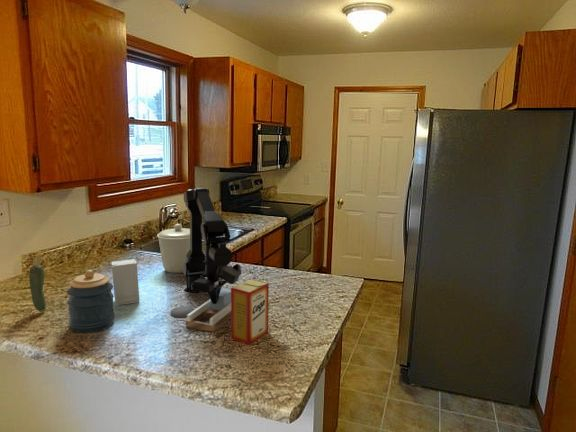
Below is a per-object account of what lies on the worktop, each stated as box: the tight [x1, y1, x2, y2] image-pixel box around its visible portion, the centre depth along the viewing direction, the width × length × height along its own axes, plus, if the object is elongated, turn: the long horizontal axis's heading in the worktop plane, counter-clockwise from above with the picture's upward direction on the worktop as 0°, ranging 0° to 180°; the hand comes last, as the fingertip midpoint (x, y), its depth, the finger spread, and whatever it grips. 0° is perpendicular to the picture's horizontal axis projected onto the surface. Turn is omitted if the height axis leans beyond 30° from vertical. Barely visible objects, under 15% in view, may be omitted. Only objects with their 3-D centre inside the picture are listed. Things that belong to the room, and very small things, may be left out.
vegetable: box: [28, 253, 47, 313], centre depth 137 cm, size 4×4×20 cm
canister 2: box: [156, 223, 190, 274], centre depth 185 cm, size 18×18×21 cm
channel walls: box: [186, 298, 231, 326], centre depth 135 cm, size 9×14×2 cm, turn 161°
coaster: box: [170, 306, 196, 319], centre depth 141 cm, size 8×8×1 cm
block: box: [211, 288, 231, 311], centre depth 141 cm, size 5×6×5 cm
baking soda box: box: [230, 278, 270, 345], centre depth 124 cm, size 10×6×16 cm
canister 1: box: [66, 269, 116, 333], centre depth 129 cm, size 13×13×18 cm
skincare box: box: [111, 258, 141, 306], centre depth 148 cm, size 8×6×15 cm
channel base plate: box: [185, 307, 231, 333], centre depth 140 cm, size 10×25×2 cm, turn 161°
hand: (214, 303), depth 137 cm, fingers closed
